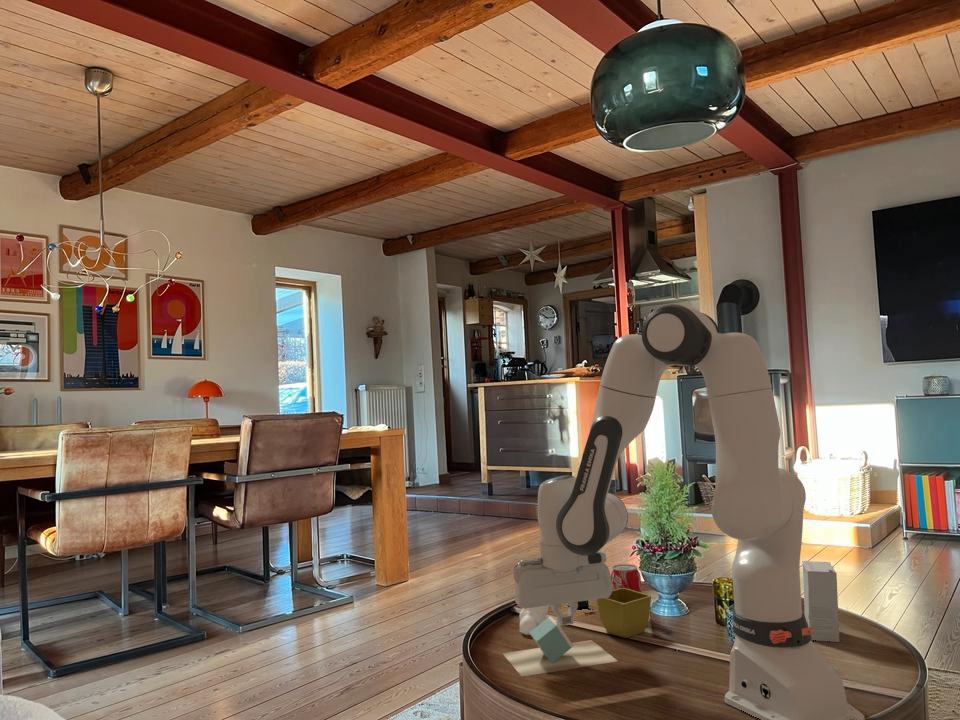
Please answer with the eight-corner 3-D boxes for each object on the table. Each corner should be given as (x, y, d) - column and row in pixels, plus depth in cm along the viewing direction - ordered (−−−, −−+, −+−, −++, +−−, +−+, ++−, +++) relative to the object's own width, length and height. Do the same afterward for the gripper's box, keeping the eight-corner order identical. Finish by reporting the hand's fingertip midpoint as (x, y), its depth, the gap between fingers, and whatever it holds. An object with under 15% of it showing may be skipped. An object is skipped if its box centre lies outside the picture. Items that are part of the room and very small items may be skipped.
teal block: (558, 623, 142) (536, 641, 141) (573, 646, 143) (551, 663, 142) (550, 615, 148) (529, 632, 147) (564, 637, 148) (543, 654, 147)
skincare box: (804, 628, 157) (799, 560, 158) (834, 629, 155) (829, 560, 156) (810, 641, 149) (805, 569, 150) (842, 643, 147) (837, 570, 148)
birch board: (618, 666, 141) (618, 661, 141) (522, 681, 136) (521, 676, 136) (591, 644, 154) (591, 640, 154) (502, 658, 149) (502, 653, 149)
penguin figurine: (549, 586, 169) (537, 607, 157) (551, 622, 169) (540, 645, 158) (523, 586, 171) (510, 605, 159) (525, 621, 171) (513, 643, 160)
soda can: (643, 623, 166) (640, 570, 167) (612, 622, 167) (609, 570, 168) (642, 613, 173) (639, 563, 173) (613, 613, 174) (610, 563, 175)
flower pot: (654, 636, 157) (652, 595, 157) (626, 646, 152) (623, 603, 152) (625, 627, 164) (623, 587, 165) (597, 635, 159) (595, 594, 160)
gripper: (517, 564, 141) (521, 636, 140) (613, 553, 146) (617, 622, 145) (508, 558, 147) (512, 626, 146) (600, 547, 152) (604, 613, 151)
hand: (565, 624), depth 146 cm, fingers closed
